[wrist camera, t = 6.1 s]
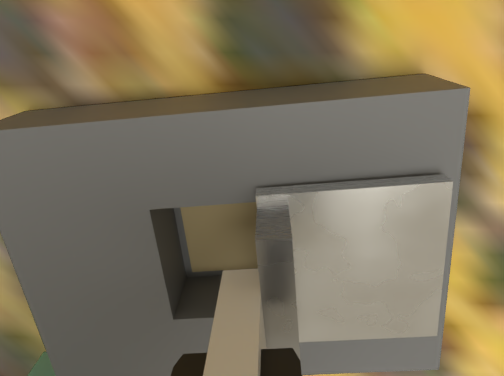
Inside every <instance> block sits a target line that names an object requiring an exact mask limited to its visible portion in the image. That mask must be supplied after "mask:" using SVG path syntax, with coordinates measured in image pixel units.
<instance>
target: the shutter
mask: <svg viewBox="0 0 504 376" xmlns="http://www.w3.org/2000/svg"><path fill="white" fill-rule="evenodd" d="M452 188H453V181H452V180H451V179H450V178H448V177H447V176H446V175H445V174H440V175H426V176H413V177H400V178H386V179H373V180H360V181H346V182H333V183H320V184H307V185H293V186H280V187H267V188H256V205H257V217H256V233H255V245H256V254H257V263H258V273H259V282H260V291H261V300H262V310H263V319H264V328H265V337H266V346H267V349H277V348H293V349H294V351H295V353H296V354H297V356H298V358H299V359H300V347H299V342H320V341H341V340H363V339H384V338H406V337H427V336H437V332H438V323H439V313H440V303H441V294H442V284H443V275H444V265H445V255H446V246H447V236H448V227H449V217H450V207H451V198H452Z"/></svg>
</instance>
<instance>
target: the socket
mask: <svg viewBox="0 0 504 376" xmlns="http://www.w3.org/2000/svg"><path fill="white" fill-rule="evenodd" d="M469 94H470V88H469V87H466V86H463V85H460V84H457V83H453V82H450V81H447V80H444V79H441V78H438V77H434V76H431V75H428V74H417V75H406V76H395V77H385V78H374V79H363V80H353V81H342V82H331V83H321V84H310V85H299V86H288V87H278V88H267V89H256V90H246V91H235V92H224V93H214V94H203V95H192V96H181V97H171V98H160V99H149V100H139V101H128V102H117V103H107V104H96V105H85V106H74V107H64V108H53V109H42V110H32V111H24V112H21V113H19V114H16V115H13V116H10V117H7V118H5V119H2V120H0V232H1V235H2V238H3V240H4V243H5V245H6V248H7V251H8V253H9V256H10V258H11V261H12V264H13V266H14V269H15V271H16V274H17V276H18V279H19V282H20V284H21V287H22V289H23V292H24V295H25V297H26V300H27V302H28V305H29V308H30V310H31V313H32V315H33V318H34V320H35V323H36V326H37V328H38V331H39V333H40V336H41V339H42V341H43V344H44V346H45V349H46V352H47V354H48V357H49V359H50V362H51V365H52V367H53V370H54V372H55V375H56V376H171V373H172V369H173V366H174V365H175V364H176V363H177V361H178V360H179V359H180V357H181V356H182V355H183V354H188V353H207V352H208V346H209V341H210V336H211V330H212V325H213V320H214V315H215V309H216V304H217V299H218V294H219V288H220V283H221V278H222V272H223V271H224V270H240V269H257V268H258V263H257V254H256V245H255V233H256V217H257V205H256V188H267V187H280V186H293V185H307V184H320V183H333V182H346V181H360V180H373V179H386V178H400V177H413V176H426V175H440V174H445V175H446V176H447V177H448V178H450V179H451V180H452V181H453V188H452V198H451V207H450V217H449V227H448V236H447V246H446V255H445V265H444V275H443V284H442V294H441V303H440V313H439V323H438V332H437V336H427V337H406V338H384V339H363V340H341V341H320V342H299V347H300V362H301V373H302V375H314V374H339V373H363V372H388V371H413V370H437V369H439V364H440V355H441V346H442V337H443V328H444V319H445V310H446V301H447V292H448V283H449V274H450V265H451V256H452V247H453V238H454V229H455V220H456V211H457V202H458V193H459V184H460V175H461V166H462V157H463V148H464V139H465V130H466V121H467V112H468V103H469Z"/></svg>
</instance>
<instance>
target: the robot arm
mask: <svg viewBox="0 0 504 376" xmlns="http://www.w3.org/2000/svg"><path fill="white" fill-rule="evenodd" d="M171 376H302V373H301V362H300V359H299V358H298V356H297V354H296V353H295V351H294V349H293V348H277V349H267V346H266V337H265V328H264V319H263V310H262V300H261V291H260V282H259V273H258V268H257V269H240V270H224V271H223V272H222V278H221V283H220V288H219V294H218V299H217V304H216V309H215V315H214V320H213V325H212V330H211V336H210V341H209V346H208V352H207V353H188V354H183V355H182V356H181V357H180V359H179V360H178V361H177V363H176V364H175V365H174V366H173V369H172V373H171Z"/></svg>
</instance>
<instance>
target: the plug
mask: <svg viewBox="0 0 504 376" xmlns="http://www.w3.org/2000/svg"><path fill="white" fill-rule="evenodd" d="M28 376H56V375H55V372H54V370H53V367H52V365H51V362H50V359H49V357H48V354H47V352H43V354H42V355H41V357H40V358H39V360H38V361H37V363H36V364H35V365H34V367H33V368H32V370H31V371H30V373H29V374H28Z"/></svg>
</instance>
